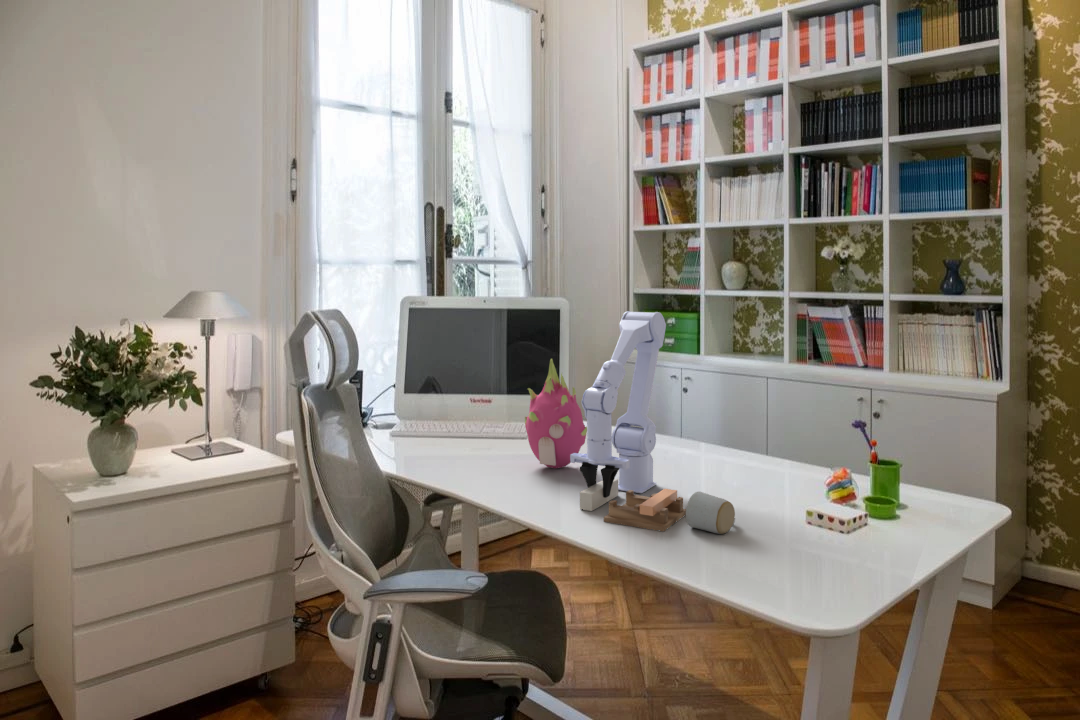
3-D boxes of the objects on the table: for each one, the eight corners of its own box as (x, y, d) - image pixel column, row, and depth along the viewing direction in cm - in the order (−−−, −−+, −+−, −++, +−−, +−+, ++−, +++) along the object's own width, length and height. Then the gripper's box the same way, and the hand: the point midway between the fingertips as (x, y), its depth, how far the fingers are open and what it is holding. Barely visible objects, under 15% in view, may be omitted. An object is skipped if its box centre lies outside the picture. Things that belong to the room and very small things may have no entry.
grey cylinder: (718, 539, 165) (719, 502, 164) (684, 530, 171) (685, 494, 170) (744, 527, 173) (745, 492, 172) (710, 519, 178) (711, 485, 178)
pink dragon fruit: (516, 471, 220) (514, 361, 216) (532, 460, 232) (531, 356, 229) (579, 476, 214) (579, 363, 210) (593, 464, 227) (592, 357, 223)
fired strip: (664, 497, 184) (664, 488, 184) (677, 498, 183) (677, 490, 183) (639, 513, 172) (639, 504, 172) (652, 516, 171) (652, 506, 171)
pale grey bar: (607, 493, 198) (607, 477, 197) (618, 495, 196) (618, 479, 196) (580, 509, 186) (579, 492, 185) (591, 511, 184) (591, 493, 184)
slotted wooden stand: (630, 504, 189) (630, 487, 189) (687, 513, 182) (687, 496, 181) (603, 521, 177) (603, 503, 177) (663, 531, 170) (663, 513, 170)
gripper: (563, 438, 189) (564, 495, 191) (620, 445, 182) (620, 504, 184) (578, 433, 195) (578, 488, 197) (633, 439, 188) (633, 496, 190)
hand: (599, 495), depth 191 cm, fingers closed on pale grey bar, 3 cm apart
